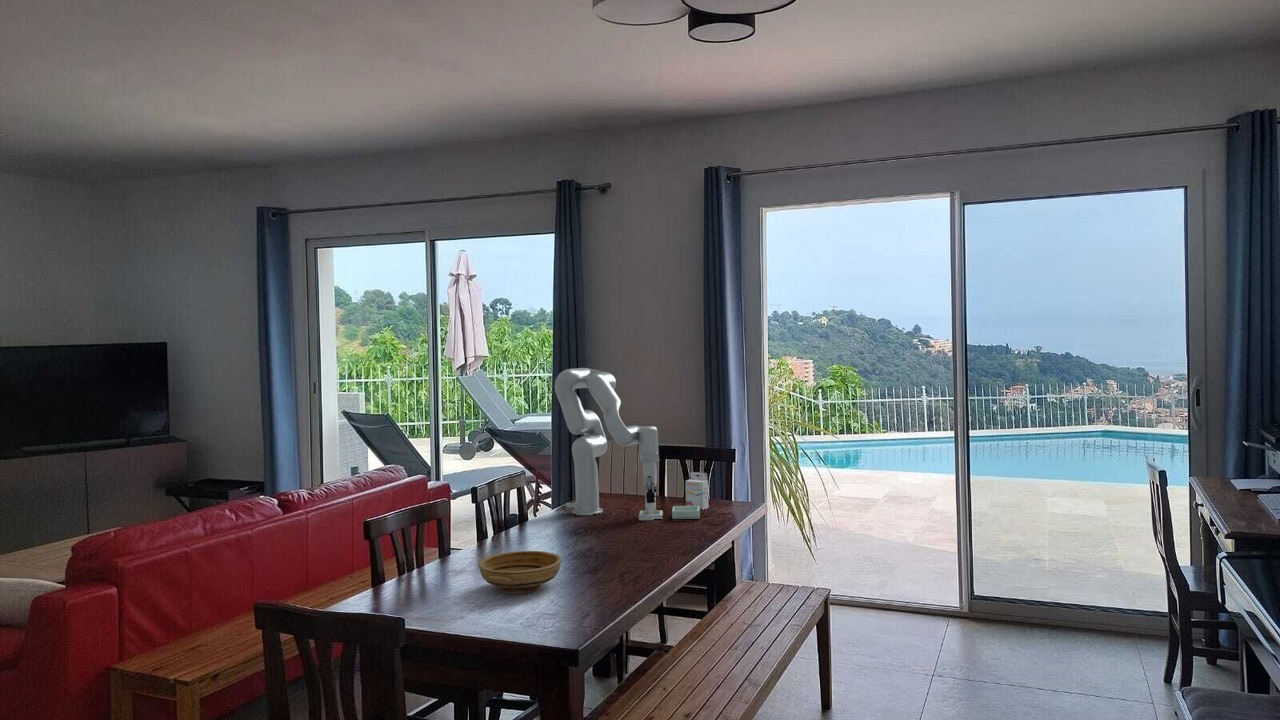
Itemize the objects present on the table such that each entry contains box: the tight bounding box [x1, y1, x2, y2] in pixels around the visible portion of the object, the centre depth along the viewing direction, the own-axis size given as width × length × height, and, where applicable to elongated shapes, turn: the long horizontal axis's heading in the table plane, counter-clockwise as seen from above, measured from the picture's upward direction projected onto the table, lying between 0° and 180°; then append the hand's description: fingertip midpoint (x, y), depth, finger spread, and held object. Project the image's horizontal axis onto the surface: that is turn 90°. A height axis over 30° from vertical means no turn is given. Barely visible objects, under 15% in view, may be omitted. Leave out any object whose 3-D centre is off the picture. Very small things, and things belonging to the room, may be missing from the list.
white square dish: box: [638, 509, 664, 521], centre depth 350 cm, size 9×9×2 cm
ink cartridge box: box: [684, 471, 709, 511], centre depth 366 cm, size 9×5×15 cm, turn 58°
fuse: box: [644, 491, 657, 515], centre depth 350 cm, size 4×4×10 cm
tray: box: [671, 505, 701, 519], centre depth 349 cm, size 11×11×4 cm
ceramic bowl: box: [477, 550, 563, 594], centre depth 256 cm, size 30×24×8 cm
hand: (651, 500), depth 350 cm, fingers open, 9 cm apart
